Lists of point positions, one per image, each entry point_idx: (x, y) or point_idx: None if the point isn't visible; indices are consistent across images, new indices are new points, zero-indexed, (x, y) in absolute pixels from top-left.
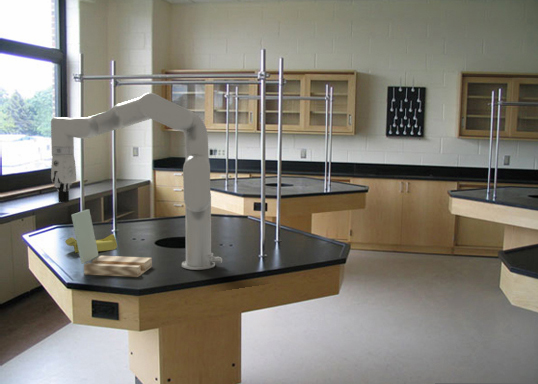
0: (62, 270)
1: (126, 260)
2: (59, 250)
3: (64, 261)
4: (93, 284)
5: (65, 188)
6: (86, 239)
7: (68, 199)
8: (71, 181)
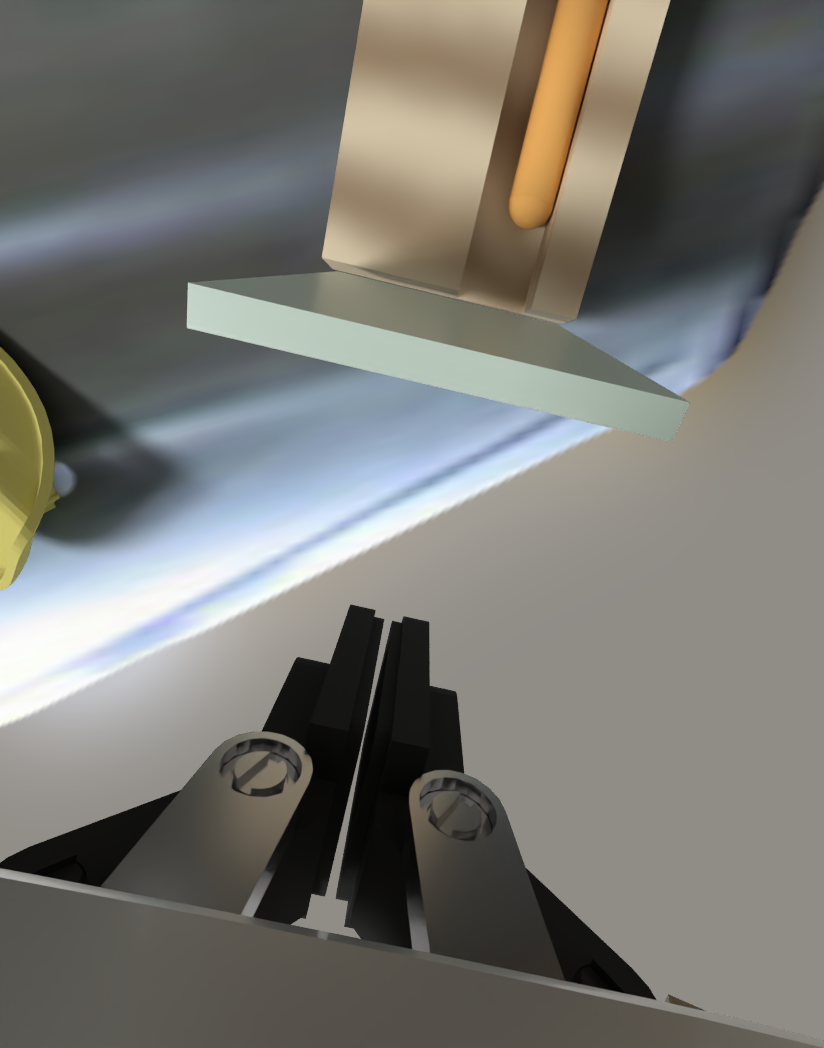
0: (456, 474)
1: (483, 3)
2: (3, 610)
3: (257, 515)
4: (791, 211)
5: (453, 844)
6: (464, 312)
7: (363, 621)
8: (241, 944)
